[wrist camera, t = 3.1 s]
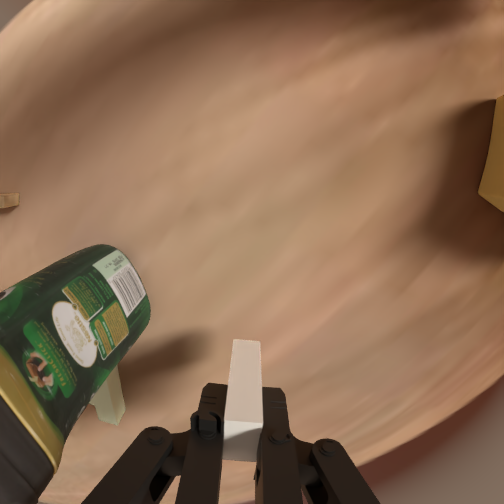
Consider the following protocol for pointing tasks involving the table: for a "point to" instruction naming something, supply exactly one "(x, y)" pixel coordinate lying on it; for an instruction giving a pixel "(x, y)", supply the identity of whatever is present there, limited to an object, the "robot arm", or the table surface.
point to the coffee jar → (60, 357)
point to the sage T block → (110, 399)
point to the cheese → (495, 161)
